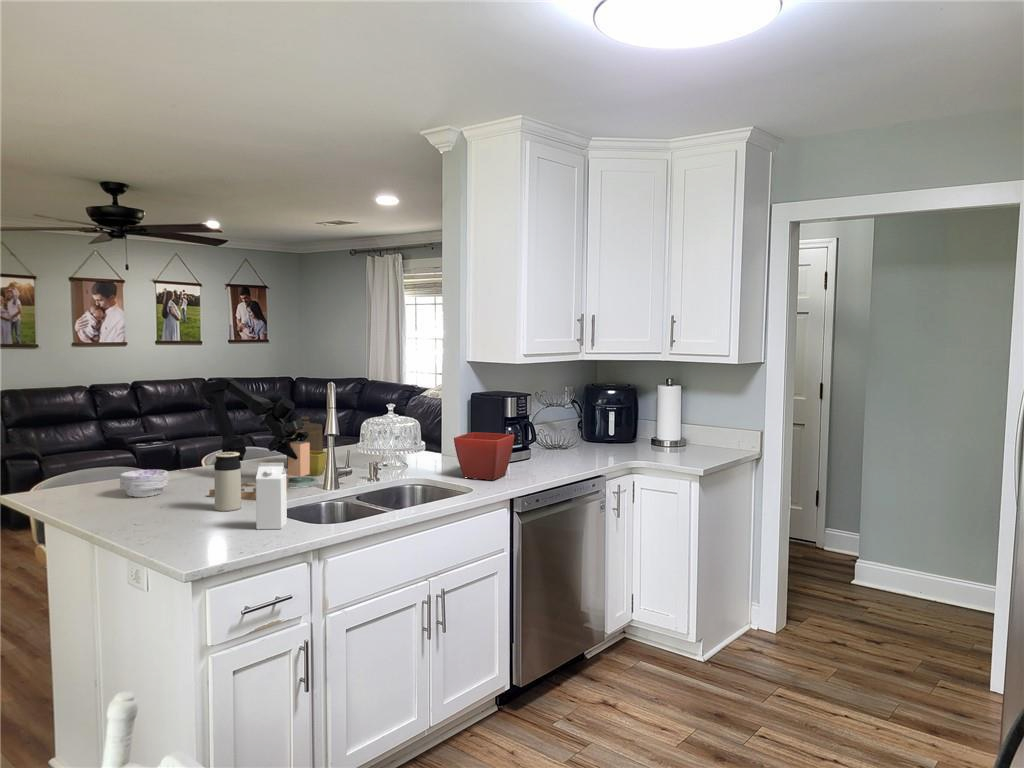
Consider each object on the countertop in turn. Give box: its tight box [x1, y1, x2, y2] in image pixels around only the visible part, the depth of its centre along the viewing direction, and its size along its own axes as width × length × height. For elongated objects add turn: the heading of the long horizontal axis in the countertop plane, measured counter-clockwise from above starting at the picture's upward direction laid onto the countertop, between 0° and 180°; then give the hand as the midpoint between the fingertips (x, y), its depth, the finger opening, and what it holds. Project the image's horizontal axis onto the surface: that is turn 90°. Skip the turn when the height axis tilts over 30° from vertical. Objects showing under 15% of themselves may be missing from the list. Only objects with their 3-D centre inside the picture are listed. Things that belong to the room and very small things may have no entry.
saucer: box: [289, 476, 319, 487], centre depth 277 cm, size 13×13×2 cm
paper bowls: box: [119, 469, 169, 498], centre depth 256 cm, size 15×15×8 cm
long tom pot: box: [287, 441, 310, 477], centre depth 276 cm, size 6×6×12 cm
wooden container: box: [286, 415, 324, 469], centre depth 312 cm, size 15×15×22 cm
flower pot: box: [307, 450, 328, 477], centre depth 296 cm, size 9×9×9 cm
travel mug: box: [213, 451, 242, 512], centre depth 237 cm, size 8×8×18 cm
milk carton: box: [255, 462, 288, 530], centre depth 216 cm, size 7×7×19 cm
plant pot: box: [453, 431, 515, 481], centre depth 295 cm, size 19×19×17 cm
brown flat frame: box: [208, 476, 290, 501], centre depth 262 cm, size 18×21×4 cm
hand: (301, 457), depth 276 cm, fingers closed on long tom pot, 6 cm apart
